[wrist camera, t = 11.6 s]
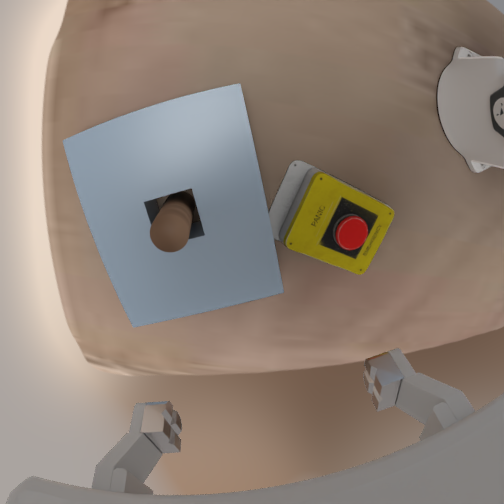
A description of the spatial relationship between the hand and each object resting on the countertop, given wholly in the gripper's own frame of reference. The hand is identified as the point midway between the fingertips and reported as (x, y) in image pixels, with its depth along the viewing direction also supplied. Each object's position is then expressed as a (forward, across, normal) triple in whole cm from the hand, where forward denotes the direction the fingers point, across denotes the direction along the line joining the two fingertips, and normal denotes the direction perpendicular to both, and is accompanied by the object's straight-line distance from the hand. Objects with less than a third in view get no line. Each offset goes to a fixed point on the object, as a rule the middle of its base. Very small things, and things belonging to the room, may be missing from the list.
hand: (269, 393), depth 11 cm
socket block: (+24, +6, -2) cm, 25 cm away
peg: (+24, +6, -2) cm, 25 cm away
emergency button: (+25, -11, +3) cm, 27 cm away
